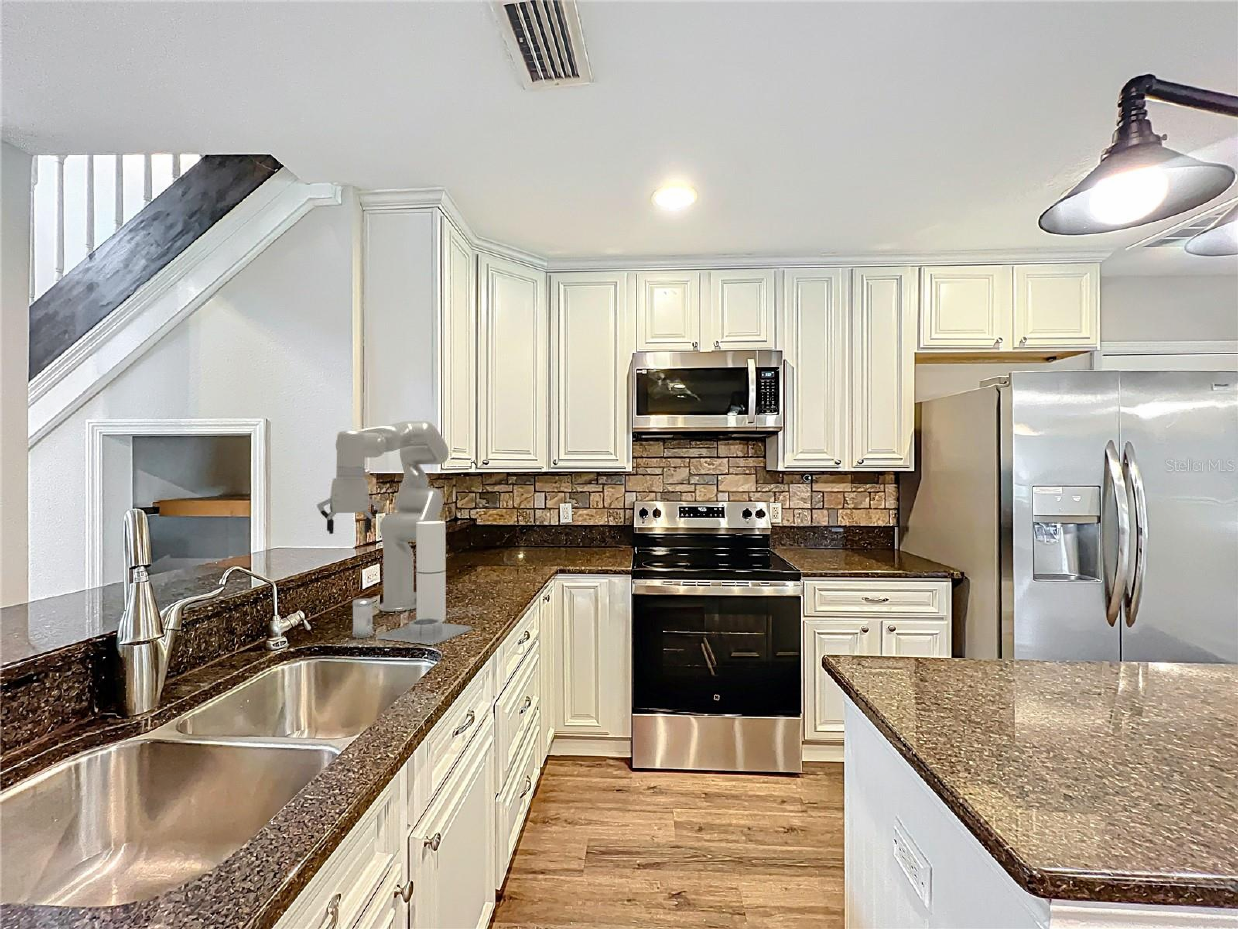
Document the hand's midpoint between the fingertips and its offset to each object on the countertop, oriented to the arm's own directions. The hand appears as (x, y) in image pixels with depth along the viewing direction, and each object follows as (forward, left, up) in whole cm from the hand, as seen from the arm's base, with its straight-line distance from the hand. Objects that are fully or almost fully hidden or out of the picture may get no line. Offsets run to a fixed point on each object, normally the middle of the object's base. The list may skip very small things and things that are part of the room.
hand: (349, 533), depth 185 cm
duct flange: (-4, +23, -28) cm, 37 cm away
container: (-18, +14, -28) cm, 37 cm away
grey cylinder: (+4, +8, -28) cm, 29 cm away
